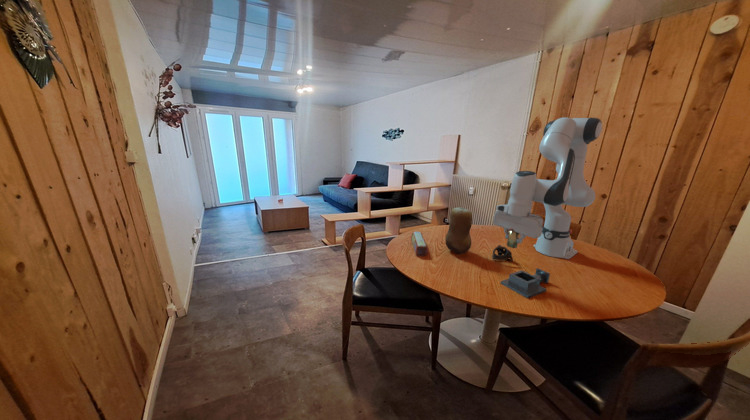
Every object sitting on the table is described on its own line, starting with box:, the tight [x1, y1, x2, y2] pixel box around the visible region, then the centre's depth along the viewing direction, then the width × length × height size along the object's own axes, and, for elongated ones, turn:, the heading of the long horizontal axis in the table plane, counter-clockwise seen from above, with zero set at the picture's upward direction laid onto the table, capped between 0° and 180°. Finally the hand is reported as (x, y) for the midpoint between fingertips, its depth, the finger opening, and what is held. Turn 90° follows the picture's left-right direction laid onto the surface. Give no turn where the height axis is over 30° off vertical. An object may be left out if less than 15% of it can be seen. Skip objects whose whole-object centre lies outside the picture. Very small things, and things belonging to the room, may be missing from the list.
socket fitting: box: [500, 268, 551, 299], centre depth 104 cm, size 19×12×5 cm, turn 116°
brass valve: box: [506, 229, 520, 249], centre depth 106 cm, size 5×4×8 cm
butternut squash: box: [445, 207, 473, 255], centre depth 133 cm, size 14×13×25 cm
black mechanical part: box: [491, 244, 514, 263], centre depth 128 cm, size 12×10×8 cm
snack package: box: [410, 231, 428, 257], centre depth 139 cm, size 21×7×7 cm, turn 178°
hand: (513, 240), depth 107 cm, fingers closed on brass valve, 4 cm apart
